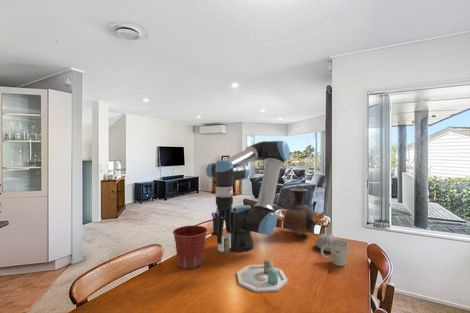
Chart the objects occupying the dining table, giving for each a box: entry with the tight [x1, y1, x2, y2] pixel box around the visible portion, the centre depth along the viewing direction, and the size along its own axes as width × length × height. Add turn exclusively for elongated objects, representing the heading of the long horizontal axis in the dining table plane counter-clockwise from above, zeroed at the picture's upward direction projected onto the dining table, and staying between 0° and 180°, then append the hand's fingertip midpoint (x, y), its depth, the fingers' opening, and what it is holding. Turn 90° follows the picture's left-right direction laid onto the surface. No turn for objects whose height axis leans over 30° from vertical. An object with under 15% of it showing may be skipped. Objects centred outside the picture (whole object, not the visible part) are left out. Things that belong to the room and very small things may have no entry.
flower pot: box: [172, 225, 208, 270], centre depth 114 cm, size 16×16×16 cm
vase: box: [284, 188, 316, 236], centre depth 154 cm, size 23×19×30 cm
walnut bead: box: [219, 238, 230, 255], centre depth 103 cm, size 4×4×5 cm
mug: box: [320, 239, 350, 267], centre depth 115 cm, size 8×13×10 cm, turn 78°
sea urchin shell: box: [315, 233, 339, 253], centre depth 132 cm, size 13×14×8 cm
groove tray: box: [236, 263, 289, 293], centre depth 99 cm, size 20×20×2 cm
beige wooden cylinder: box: [263, 258, 274, 275], centre depth 103 cm, size 4×4×5 cm
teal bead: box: [268, 267, 278, 285], centre depth 95 cm, size 4×4×5 cm
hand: (224, 248), depth 103 cm, fingers closed on walnut bead, 4 cm apart
